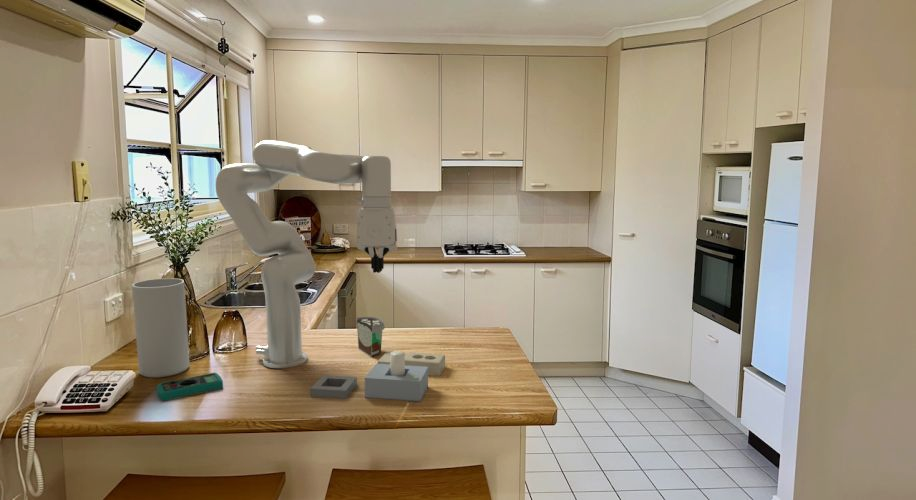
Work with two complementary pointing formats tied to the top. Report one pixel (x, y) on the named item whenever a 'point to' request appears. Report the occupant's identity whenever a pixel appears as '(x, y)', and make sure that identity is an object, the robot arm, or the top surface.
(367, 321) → the food container
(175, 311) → the cylinder vase
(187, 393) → the digital multimeter
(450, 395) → the top surface
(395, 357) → the plug
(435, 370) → the electrical outlet
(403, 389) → the port block
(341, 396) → the grey square socket base
